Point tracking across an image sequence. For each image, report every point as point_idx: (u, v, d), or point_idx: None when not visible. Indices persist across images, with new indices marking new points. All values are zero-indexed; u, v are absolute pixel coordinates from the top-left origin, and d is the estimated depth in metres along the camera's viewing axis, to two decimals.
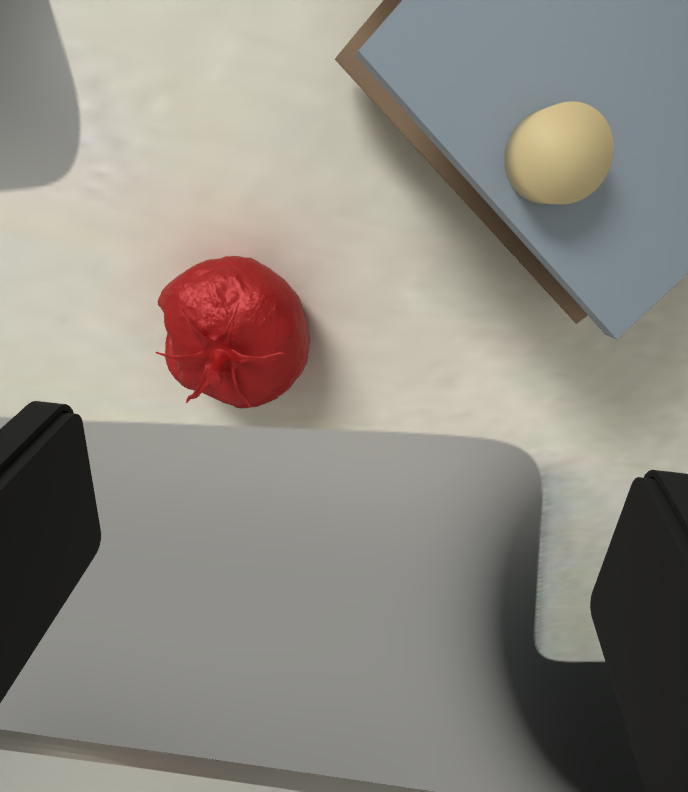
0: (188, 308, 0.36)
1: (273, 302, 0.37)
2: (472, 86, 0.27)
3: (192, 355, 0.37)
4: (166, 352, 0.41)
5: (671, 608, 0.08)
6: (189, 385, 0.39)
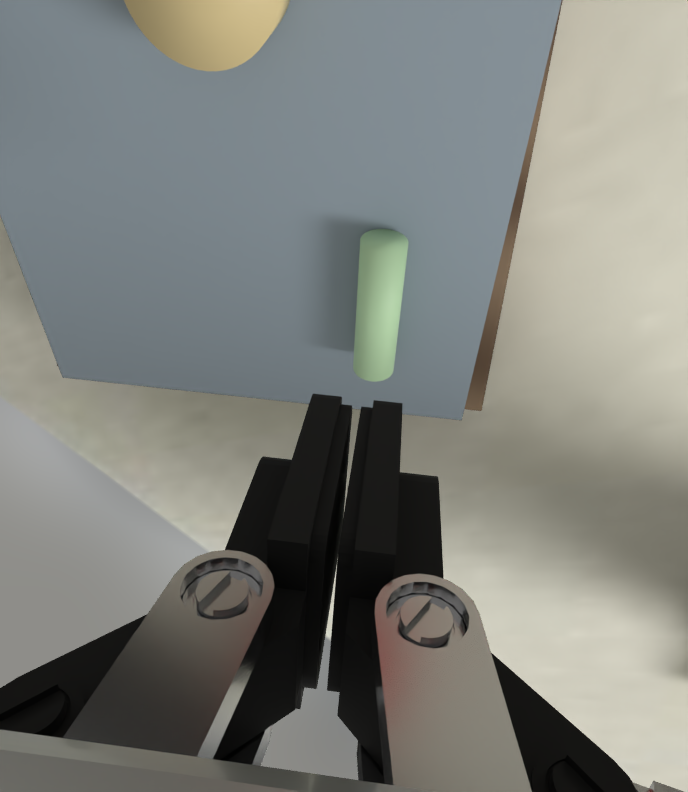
0: None
1: None
2: None
3: None
4: None
5: None
6: None
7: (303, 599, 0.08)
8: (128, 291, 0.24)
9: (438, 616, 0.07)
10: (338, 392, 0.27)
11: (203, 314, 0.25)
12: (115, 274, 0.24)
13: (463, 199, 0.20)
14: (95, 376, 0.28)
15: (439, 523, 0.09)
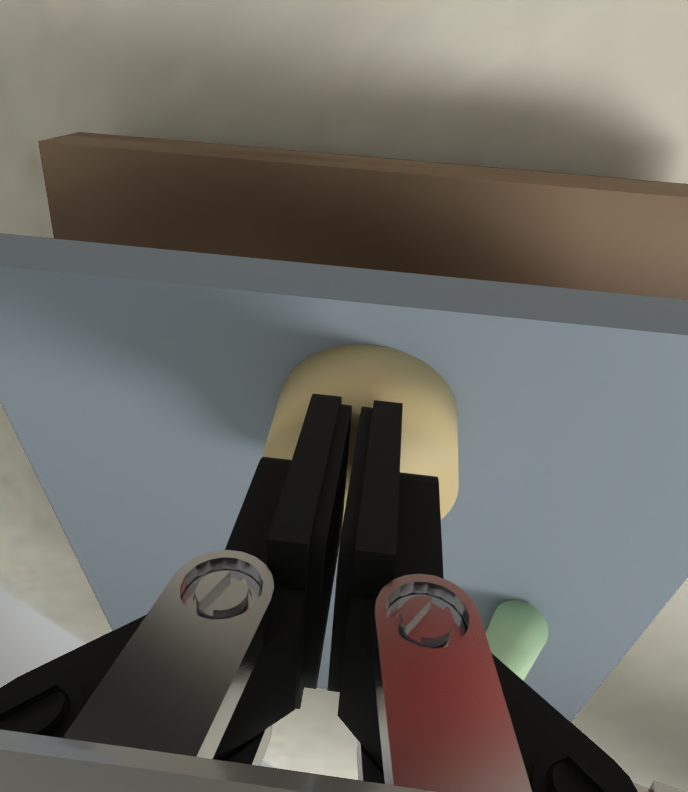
0: None
1: None
2: (580, 421, 0.13)
3: None
4: None
5: None
6: None
7: (303, 599, 0.08)
8: None
9: (438, 616, 0.07)
10: None
11: None
12: None
13: (614, 588, 0.18)
14: None
15: (439, 523, 0.09)
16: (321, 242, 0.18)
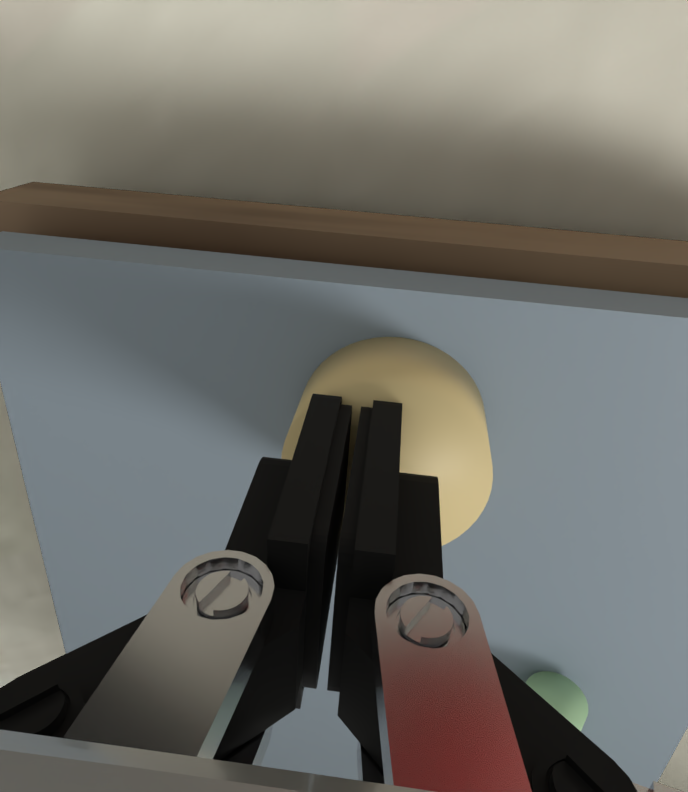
0: None
1: None
2: (613, 427, 0.13)
3: None
4: None
5: None
6: None
7: (303, 599, 0.08)
8: None
9: (438, 616, 0.07)
10: None
11: (293, 730, 0.19)
12: None
13: (658, 652, 0.16)
14: None
15: (439, 523, 0.09)
16: None
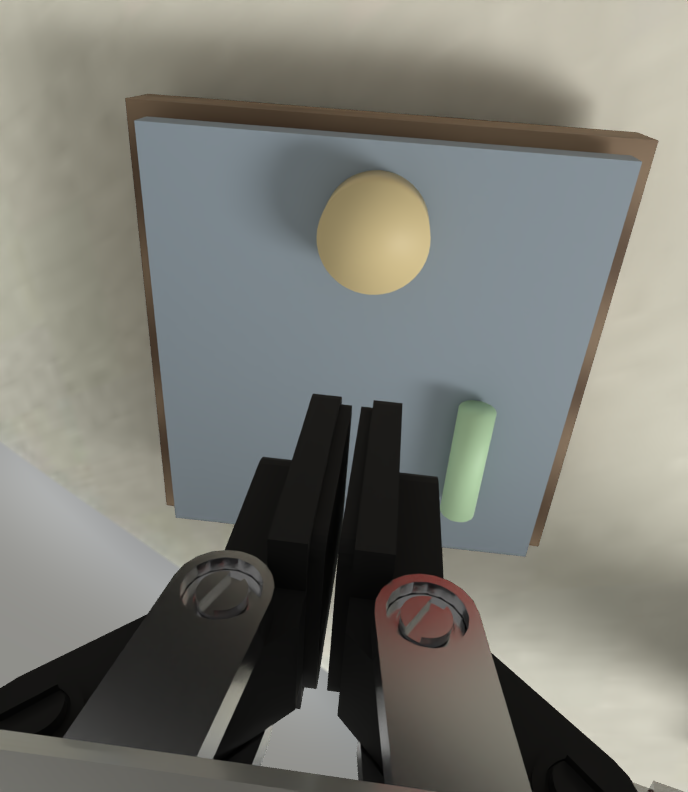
0: None
1: None
2: (499, 222, 0.23)
3: None
4: None
5: None
6: None
7: (303, 599, 0.08)
8: (254, 445, 0.29)
9: (438, 616, 0.07)
10: None
11: None
12: (246, 431, 0.29)
13: (538, 380, 0.26)
14: (205, 516, 0.32)
15: (439, 523, 0.09)
16: None
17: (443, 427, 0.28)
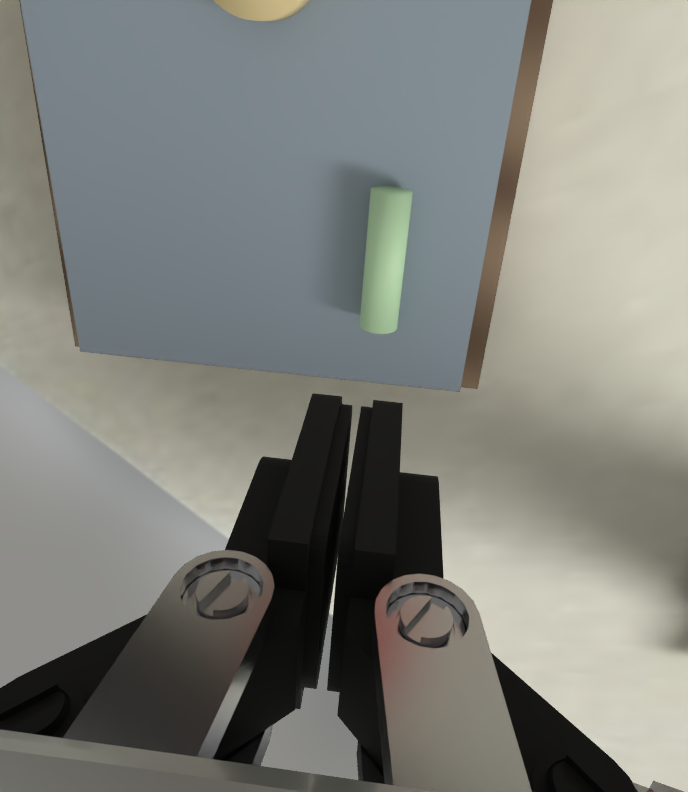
0: None
1: None
2: None
3: None
4: None
5: None
6: None
7: (303, 599, 0.08)
8: (155, 254, 0.27)
9: (438, 616, 0.07)
10: (343, 362, 0.28)
11: (222, 277, 0.27)
12: (146, 236, 0.26)
13: (459, 156, 0.23)
14: (112, 349, 0.29)
15: (439, 523, 0.09)
16: None
17: (359, 223, 0.25)
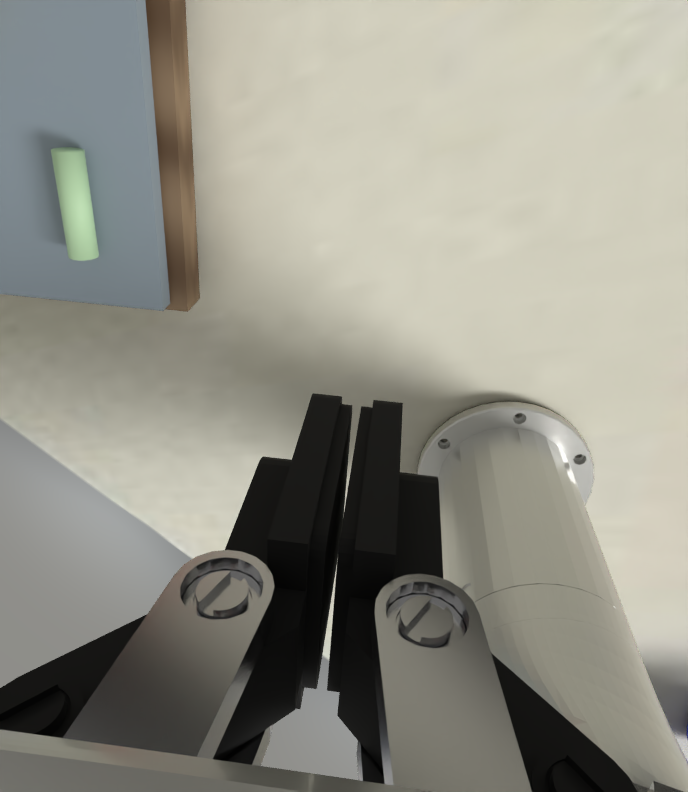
0: None
1: None
2: None
3: None
4: None
5: None
6: None
7: (303, 599, 0.08)
8: None
9: (438, 616, 0.07)
10: (72, 287, 0.37)
11: None
12: None
13: (116, 124, 0.32)
14: None
15: (439, 523, 0.09)
16: None
17: None
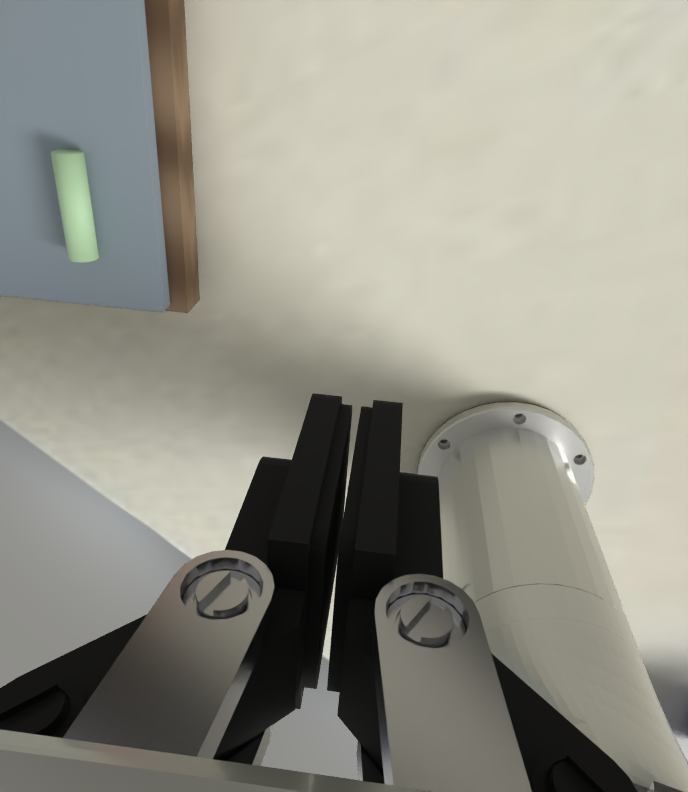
0: None
1: None
2: None
3: None
4: None
5: None
6: None
7: (303, 599, 0.08)
8: None
9: (438, 616, 0.07)
10: (72, 289, 0.37)
11: None
12: None
13: (116, 127, 0.32)
14: None
15: (439, 523, 0.09)
16: None
17: None
